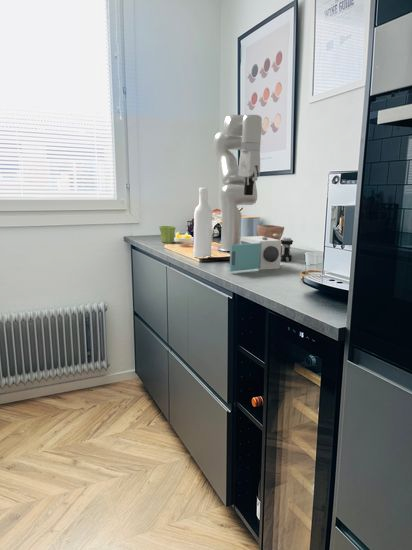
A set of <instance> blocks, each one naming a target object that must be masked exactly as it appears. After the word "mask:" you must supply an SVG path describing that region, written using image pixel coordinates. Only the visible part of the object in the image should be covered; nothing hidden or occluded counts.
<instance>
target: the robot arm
mask: <svg viewBox="0 0 412 550" xmlns="http://www.w3.org/2000/svg"><path fill="white" fill-rule="evenodd" d="M223 121H224V122H223V131H219V132H217V133H216V134H215V136H214V139H213V148H214V152H215V154H216V157H217V159H218V162H219V166H220V167H219V168H220V175H221V177H220V178H221V182H222V183H223V185H224V186H222V188H221V189H220V201H221V227H220V231H221V233H220V235H221V237H220V238H221V239H220V241H219V244H220V246H218V247H217V251H219V250H221V251H220V252H223V251H230V248H231V245H237V244H240V239H241V237H242V213H241V211H240V209H239V208H238V206H253V205H254V204H256V202H257V200H258V190H257V184H256V182H257V181H258V178H259V177H260V174H261V154H260V153H261V142H262V141H261V139H262V125H263V122H262V121H263V119H262V116H261V115H258V114H246V115H245V114H244V115H243V114H231V115H226V117H225V118H224V120H223ZM230 150H233V151H234V150H235V151H240V155H239V161H238V159H237V158H236V156H235V155H234V153H232V152H231V151H230Z"/></svg>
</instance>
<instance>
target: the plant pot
mask: <svg viewBox="0 0 412 550" xmlns="http://www.w3.org/2000/svg"><path fill="white" fill-rule="evenodd" d="M158 228H159V230H160V238H161V242H162V243H166V244H171V243H174V238H175V232H176V228H177V226H175V225H161V226H158Z"/></svg>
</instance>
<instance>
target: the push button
mask: <svg viewBox="0 0 412 550" xmlns="http://www.w3.org/2000/svg"><path fill="white" fill-rule="evenodd" d="M280 240H281V246H282V255H280V263H281V262H282V263H284V262H285V263H286V262H290V263H291V262H292V260H293V255H292V254H291V246H292V245H293V242H294V240H292V237H282V238H281V239H280Z"/></svg>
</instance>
